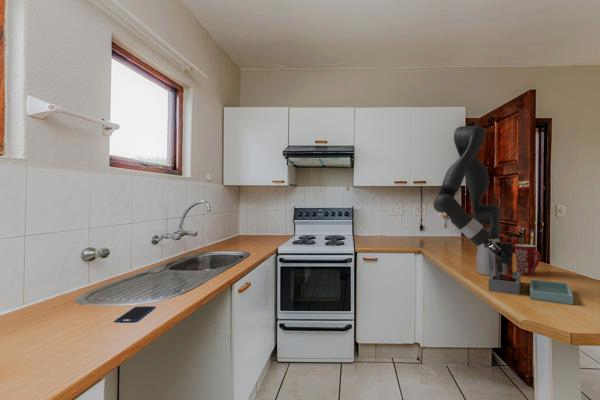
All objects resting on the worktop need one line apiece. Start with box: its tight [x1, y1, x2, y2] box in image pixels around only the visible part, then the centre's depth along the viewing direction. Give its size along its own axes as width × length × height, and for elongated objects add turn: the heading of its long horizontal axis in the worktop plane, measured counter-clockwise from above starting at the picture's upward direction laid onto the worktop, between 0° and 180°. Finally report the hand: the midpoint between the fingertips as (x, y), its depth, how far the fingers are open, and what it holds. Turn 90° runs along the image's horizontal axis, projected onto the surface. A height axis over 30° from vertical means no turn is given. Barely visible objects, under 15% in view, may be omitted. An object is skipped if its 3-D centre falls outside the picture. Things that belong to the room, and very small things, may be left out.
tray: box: [529, 278, 574, 306], centre depth 122 cm, size 20×12×3 cm, turn 144°
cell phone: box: [113, 305, 157, 324], centre depth 105 cm, size 7×14×1 cm, turn 1°
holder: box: [488, 270, 522, 296], centre depth 134 cm, size 21×10×4 cm, turn 144°
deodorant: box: [495, 241, 514, 282], centre depth 129 cm, size 6×6×15 cm
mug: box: [513, 243, 541, 276], centre depth 155 cm, size 13×9×14 cm
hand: (508, 262), depth 128 cm, fingers closed on deodorant, 6 cm apart
